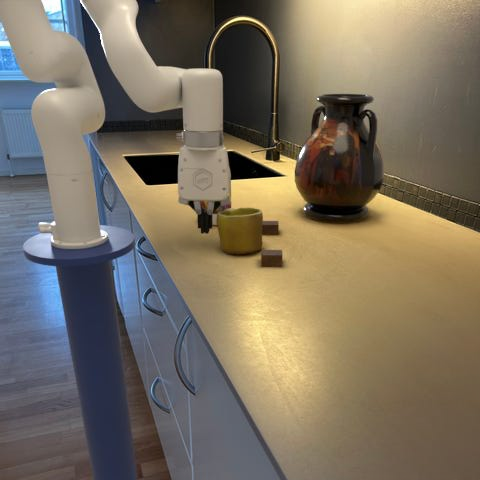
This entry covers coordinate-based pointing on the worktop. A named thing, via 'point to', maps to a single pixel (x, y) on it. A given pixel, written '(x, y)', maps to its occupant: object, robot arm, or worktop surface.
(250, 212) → the mug
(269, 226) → the block
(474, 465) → the worktop surface
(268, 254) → the block
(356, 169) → the amphora vase
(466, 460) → the worktop surface
